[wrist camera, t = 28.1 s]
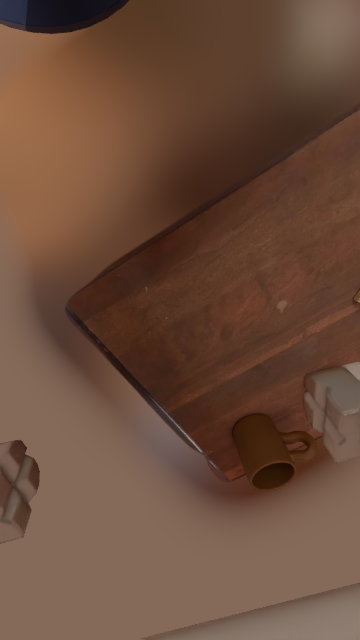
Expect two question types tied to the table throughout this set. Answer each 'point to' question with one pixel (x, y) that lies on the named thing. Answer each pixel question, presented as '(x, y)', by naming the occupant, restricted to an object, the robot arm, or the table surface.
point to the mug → (269, 452)
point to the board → (357, 297)
